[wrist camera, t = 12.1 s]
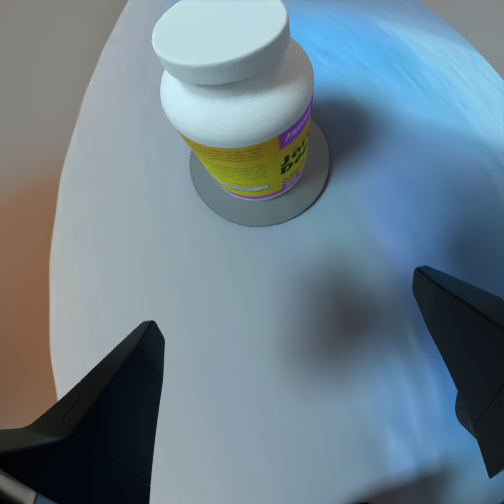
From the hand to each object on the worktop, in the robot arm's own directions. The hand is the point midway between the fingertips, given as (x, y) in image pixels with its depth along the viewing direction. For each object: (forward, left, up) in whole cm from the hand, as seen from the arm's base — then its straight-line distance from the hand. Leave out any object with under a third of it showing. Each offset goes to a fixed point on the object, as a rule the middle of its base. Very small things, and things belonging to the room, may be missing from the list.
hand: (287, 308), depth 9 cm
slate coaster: (+1, -9, -10) cm, 14 cm away
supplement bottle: (+1, -9, -10) cm, 14 cm away
